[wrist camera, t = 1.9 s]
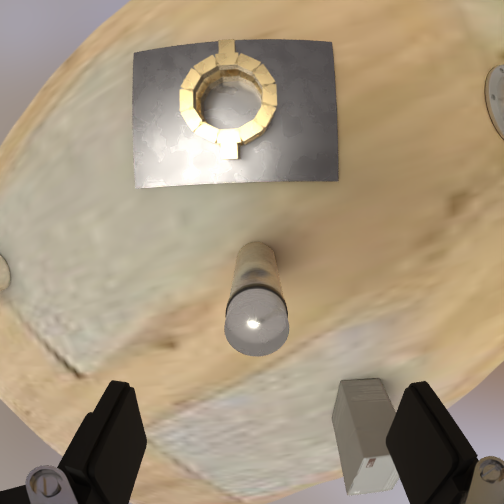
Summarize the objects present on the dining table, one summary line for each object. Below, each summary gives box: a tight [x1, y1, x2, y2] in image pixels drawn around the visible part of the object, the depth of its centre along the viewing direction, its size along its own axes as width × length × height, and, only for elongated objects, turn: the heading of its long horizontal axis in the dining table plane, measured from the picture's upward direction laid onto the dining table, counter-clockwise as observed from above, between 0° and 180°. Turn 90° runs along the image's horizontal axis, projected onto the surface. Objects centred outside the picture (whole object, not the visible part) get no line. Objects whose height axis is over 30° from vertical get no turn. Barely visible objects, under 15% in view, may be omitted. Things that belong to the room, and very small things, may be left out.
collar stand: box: [133, 39, 338, 189], centre depth 29 cm, size 22×16×8 cm
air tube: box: [225, 242, 289, 356], centre depth 29 cm, size 5×5×16 cm
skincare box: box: [332, 379, 400, 496], centre depth 35 cm, size 8×7×16 cm
